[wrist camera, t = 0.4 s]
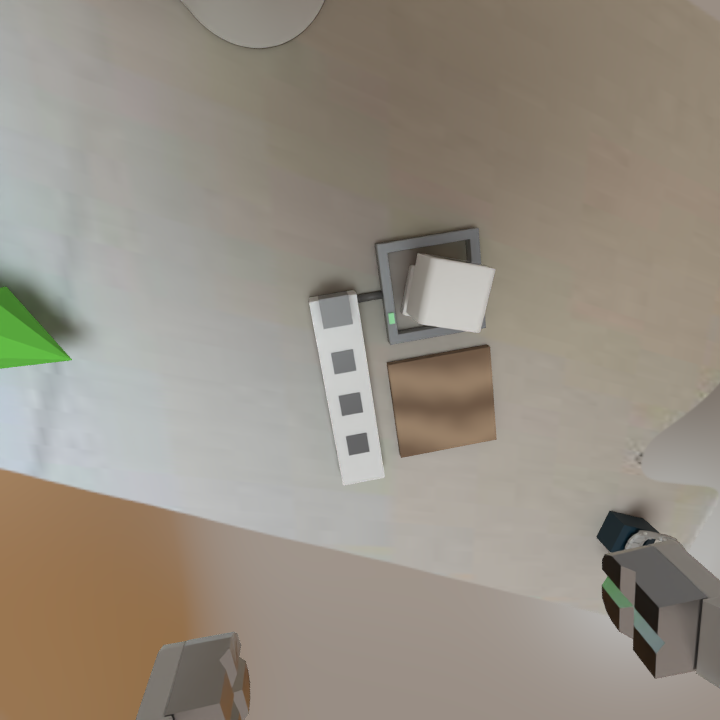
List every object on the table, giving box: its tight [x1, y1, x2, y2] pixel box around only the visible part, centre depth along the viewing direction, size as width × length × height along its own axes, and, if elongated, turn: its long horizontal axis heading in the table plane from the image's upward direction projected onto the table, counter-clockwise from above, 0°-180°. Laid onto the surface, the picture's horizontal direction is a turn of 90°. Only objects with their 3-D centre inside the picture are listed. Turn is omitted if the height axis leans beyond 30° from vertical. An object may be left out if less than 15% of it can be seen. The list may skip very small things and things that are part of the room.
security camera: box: [401, 253, 496, 333], centre depth 49 cm, size 6×7×10 cm
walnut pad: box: [387, 345, 496, 458], centre depth 57 cm, size 12×12×1 cm
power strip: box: [309, 290, 385, 486], centre depth 53 cm, size 22×9×5 cm, turn 9°
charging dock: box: [375, 228, 486, 345], centre depth 53 cm, size 11×11×2 cm
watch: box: [597, 511, 686, 553], centre depth 61 cm, size 6×8×11 cm
